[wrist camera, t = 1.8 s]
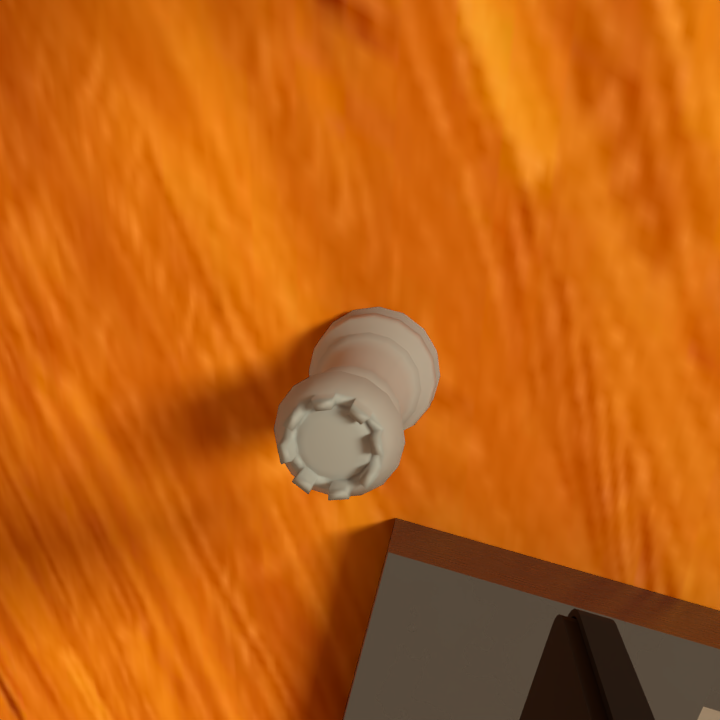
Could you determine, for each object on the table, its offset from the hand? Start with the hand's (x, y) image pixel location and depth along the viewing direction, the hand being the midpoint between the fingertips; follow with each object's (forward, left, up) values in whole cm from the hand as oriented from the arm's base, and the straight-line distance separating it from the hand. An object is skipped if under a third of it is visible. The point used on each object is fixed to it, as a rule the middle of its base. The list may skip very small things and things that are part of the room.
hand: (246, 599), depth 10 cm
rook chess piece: (-1, 0, -13) cm, 13 cm away
